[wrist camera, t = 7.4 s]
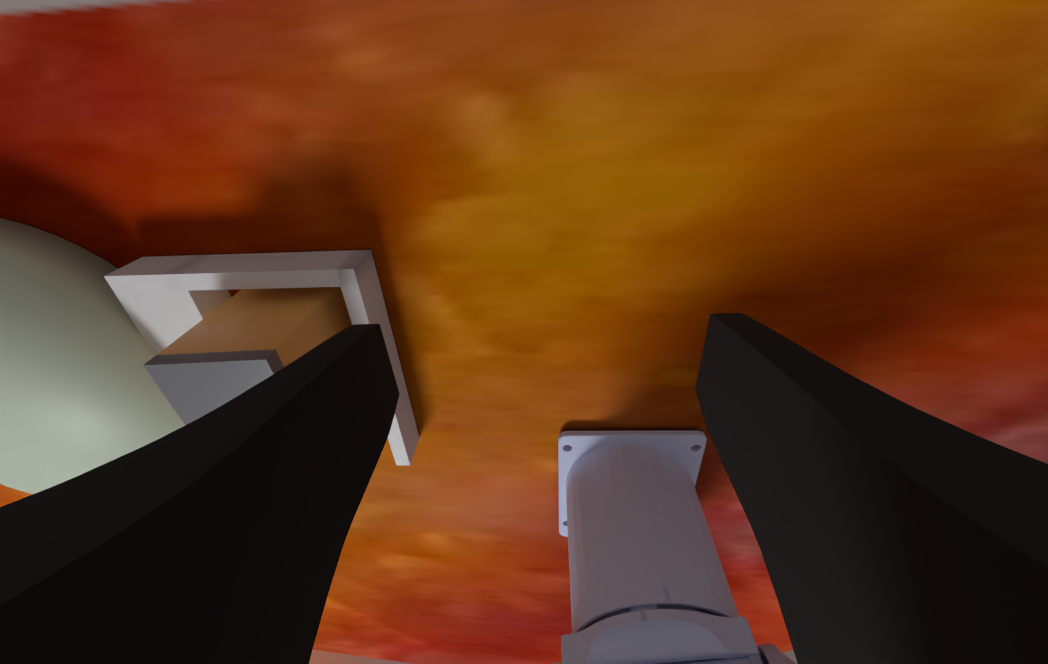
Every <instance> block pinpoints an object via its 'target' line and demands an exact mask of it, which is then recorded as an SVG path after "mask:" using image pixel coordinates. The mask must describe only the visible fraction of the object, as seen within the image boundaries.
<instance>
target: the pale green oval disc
mask: <svg viewBox="0 0 1048 664" xmlns="http://www.w3.org/2000/svg"><path fill="white" fill-rule="evenodd" d="M309 287H341V290H342V293H343V296H344V300H345V303H346V306H347V309H348V312H349V316H350V319H351V322H352V325H354V324H380V327H381V330H382V334H383V337H384V341H385V344H386V348H387V351H388V355H389V358H390V362H391V365H392V369H393V372H394V376H395V379H396V383H397V386H398V390H399V393H400V394H399V399H398V403H397V407H396V411H395V415H394V418H393V422H392V426H391V429H390V433H389V435H388V440H389V443H390V446H391V450H392V453H393V456H394V459H395V462H396V465H410V464H411V461H412V458H413V455H414V452H415V449H416V446H417V443H418V440H419V434H418V431H417V427H416V423H415V419H414V415H413V411H412V407H411V403H410V399H409V396H408V392H407V388H406V384H405V380H404V376H403V372H402V368H401V364H400V361H399V357H398V353H397V349H396V345H395V341H394V337H393V333H392V329H391V326H390V322H389V318H388V314H387V310H386V306H385V302H384V298H383V294H382V291H381V287H380V283H379V279H378V275H377V271H376V267H375V263H374V259H373V256H372V252H371V250H347V251H315V252H283V253H251V254H218V255H186V256H154V257H141V258H139V259H137V260H135V261H133V262H131V263H129V264H127V265H125V266H123V267H121V268H119V269H118V268H117V267H115V266H114V265H112V264H111V263H109V262H108V261H106V260H104V259H102V258H101V257H99V256H97V255H95V254H93V253H91V252H90V251H88V250H86V249H84V248H82V247H80V246H78V245H76V244H74V243H72V242H70V241H67V240H65V239H63V238H61V237H58V236H56V235H54V234H51V233H49V232H46V231H43V230H40V229H37V228H34V227H32V226H29V225H26V224H22V223H18V222H14V221H11V220H7V219H3V218H0V484H2V485H5V486H8V487H11V488H14V489H17V490H20V491H24V492H27V493H30V494H35V493H38V492H40V491H43V490H45V489H48V488H50V487H53V486H55V485H58V484H60V483H63V482H65V481H67V480H70V479H72V478H74V477H77V476H79V475H81V474H83V473H85V472H88V471H90V470H92V469H94V468H97V467H99V466H101V465H103V464H105V463H108V462H110V461H112V460H114V459H117V458H119V457H121V456H123V455H125V454H128V453H130V452H132V451H134V450H136V449H139V448H141V447H143V446H145V445H147V444H149V443H151V442H153V441H156V440H158V439H160V438H162V437H164V436H165V435H167V434H169V433H171V432H173V431H175V430H177V429H179V428H181V427H183V426H185V424H184V423H183V421H182V420H181V418H180V417H179V416H178V414H177V413H176V411H175V410H174V408H173V407H172V406H171V404H170V403H169V401H168V400H167V399H166V397H165V396H164V394H163V393H162V392H161V390H160V389H159V387H158V386H157V384H156V383H155V382H154V380H153V379H152V377H151V376H150V375H149V373H148V372H147V370H146V369H145V368H144V366H143V365H144V364H145V363H147V362H148V361H149V360H151V359H152V358H153V357H154V356H156V355H157V354H158V353H160V352H161V351H162V350H164V349H165V348H166V347H167V346H169V345H170V344H171V343H173V342H174V341H175V340H177V339H178V338H179V337H181V336H182V335H183V334H184V333H186V332H187V331H188V330H190V329H191V328H192V327H194V326H195V325H196V324H197V323H199V322H200V321H201V320H203V319H204V318H205V317H207V316H208V315H209V314H210V313H212V312H213V311H214V310H216V309H217V308H218V307H220V306H221V305H222V304H223V303H225V302H226V301H227V300H229V299H230V298H231V295H230V293H229V291H228V290H231V289H270V288H309Z"/></svg>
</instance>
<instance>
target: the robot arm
mask: <svg viewBox="0 0 1048 664" xmlns="http://www.w3.org/2000/svg"><path fill="white" fill-rule="evenodd" d="M695 389H696V393H697V396H698V400H699V403H700V407H701V411H702V414H703V417H704V420H705V424H706V427H707V430H708V432H709V434H710V437H711V439H712V441H713V443H714V446H715V448H716V450H717V452H718V454H719V457H720V459H721V461H722V463H723V466H724V468H725V470H726V472H727V474H728V476H729V479H730V481H731V483H732V485H733V487H734V489H735V492H736V494H737V496H738V498H739V500H740V503H741V505H742V507H743V509H744V511H745V513H746V516H747V518H748V520H749V522H750V524H751V527H752V529H753V532H754V534H755V537H756V539H757V542H758V544H759V546H760V549H761V552H762V555H763V558H764V561H765V564H766V567H767V570H768V573H769V576H770V578H771V581H772V584H773V587H774V590H775V593H776V596H777V599H778V602H779V605H780V608H781V612H782V615H783V618H784V621H785V624H786V628H787V631H788V634H789V637H790V640H791V643H792V647H793V650H794V653H795V656H796V659H797V663H798V664H1048V464H1046V463H1044V462H1041V461H1039V460H1036V459H1033V458H1031V457H1028V456H1026V455H1023V454H1020V453H1018V452H1015V451H1013V450H1010V449H1008V448H1005V447H1003V446H1000V445H998V444H996V443H993V442H991V441H988V440H986V439H983V438H981V437H979V436H976V435H974V434H972V433H969V432H967V431H965V430H963V429H961V428H958V427H956V426H954V425H952V424H949V423H947V422H945V421H943V420H940V419H938V418H936V417H934V416H932V415H929V414H927V413H925V412H923V411H920V410H918V409H916V408H914V407H912V406H910V405H908V404H906V403H904V402H902V401H900V400H898V399H896V398H894V397H892V396H890V395H888V394H886V393H884V392H882V391H880V390H878V389H876V388H874V387H873V386H871V385H869V384H867V383H865V382H863V381H861V380H859V379H857V378H855V377H853V376H852V375H850V374H848V373H846V372H844V371H843V370H841V369H839V368H837V367H835V366H834V365H832V364H830V363H828V362H826V361H825V360H823V359H821V358H819V357H818V356H816V355H814V354H813V353H811V352H809V351H807V350H806V349H804V348H802V347H801V346H799V345H797V344H795V343H794V342H792V341H790V340H789V339H787V338H785V337H784V336H782V335H780V334H778V333H777V332H775V331H773V330H772V329H770V328H768V327H766V326H765V325H763V324H761V323H759V322H757V321H756V320H754V319H752V318H750V317H748V316H746V315H744V314H741V313H725V314H710V319H709V324H708V329H707V334H706V339H705V344H704V349H703V354H702V358H701V363H700V368H699V373H698V378H697V383H696V388H695ZM399 394H400V393H399V390H398V386H397V383H396V379H395V376H394V372H393V369H392V365H391V362H390V358H389V355H388V351H387V348H386V344H385V341H384V337H383V334H382V330H381V327H380V324H354V325H351V326H349V327H347V328H345V329H344V330H342V331H340V332H338V333H337V334H335V335H334V336H332V337H330V338H329V339H327V340H326V341H324V342H322V343H321V344H319V345H318V346H316V347H315V348H313V349H312V350H310V351H309V352H307V353H305V354H304V355H302V356H301V357H299V358H298V359H296V360H295V361H293V362H292V363H290V364H289V365H287V366H285V367H284V368H282V369H281V370H279V371H278V372H276V373H275V374H273V375H271V376H270V377H268V378H267V379H265V380H263V381H262V382H260V383H258V384H257V385H255V386H253V387H252V388H250V389H248V390H247V391H245V392H243V393H242V394H240V395H238V396H237V397H235V398H233V399H232V400H230V401H228V402H227V403H225V404H223V405H222V406H220V407H218V408H216V409H215V410H213V411H211V412H209V413H207V414H206V415H204V416H202V417H200V418H198V419H196V420H195V421H193V422H191V423H189V424H187V425H185V426H183V427H181V428H179V429H177V430H175V431H173V432H171V433H169V434H167V435H165V436H164V437H162V438H160V439H158V440H156V441H153V442H151V443H149V444H147V445H145V446H143V447H141V448H139V449H136V450H134V451H132V452H130V453H128V454H125V455H123V456H121V457H119V458H117V459H114V460H112V461H110V462H108V463H105V464H103V465H101V466H99V467H97V468H94V469H92V470H90V471H88V472H85V473H83V474H81V475H79V476H77V477H74V478H72V479H70V480H67V481H65V482H63V483H60V484H58V485H55V486H53V487H50V488H48V489H45V490H43V491H40V492H38V493H35V494H33V495H31V496H28V497H26V498H23V499H21V500H18V501H15V502H13V503H10V504H8V505H5V506H2V507H0V664H309V660H310V656H311V652H312V649H313V645H314V641H315V638H316V634H317V631H318V627H319V624H320V620H321V617H322V613H323V610H324V606H325V603H326V599H327V595H328V592H329V589H330V586H331V582H332V579H333V576H334V573H335V570H336V566H337V563H338V560H339V557H340V553H341V550H342V547H343V544H344V541H345V539H346V536H347V533H348V531H349V528H350V525H351V523H352V520H353V518H354V516H355V513H356V511H357V509H358V506H359V504H360V502H361V499H362V497H363V495H364V492H365V490H366V488H367V485H368V483H369V481H370V478H371V476H372V474H373V471H374V469H375V467H376V464H377V462H378V459H379V457H380V455H381V452H382V450H383V447H384V445H385V443H386V440H387V438H388V435H389V433H390V429H391V426H392V422H393V418H394V415H395V411H396V407H397V403H398V399H399ZM706 442H707V438H706V436H705V434H704V432H702V431H698V430H674V431H564V432H561V433H560V434H559V436H558V474H559V533H560V534H561V535H562V536H566V537H568V549H569V571H570V592H571V614H572V634H568V635H563V636H562V637H561V653H562V663H554V664H796V663H794V662H793V661H792V660H791V659H790V658H788V657H787V656H786V655H784V654H783V653H781V651H780V650H779V649H778V648H777V647H776V646H775V645H773V644H762V645H758V649H757V646H756V643H755V640H754V637H753V635H752V632H751V629H750V626H749V623H748V621H747V618H746V617H739V615H738V612H737V609H736V606H735V603H734V600H733V597H732V594H731V591H730V588H729V586H728V583H727V580H726V577H725V574H724V571H723V568H722V565H721V562H720V559H719V557H718V554H717V551H716V548H715V545H714V542H713V539H712V536H711V533H710V530H709V528H708V525H707V522H706V519H705V516H704V513H703V510H702V507H701V504H700V501H699V499H698V496H697V493H696V490H695V484H696V481H697V477H698V473H699V469H700V465H701V461H702V457H703V454H704V450H705V446H706ZM565 445H570V446H565ZM694 445H696V446H694Z"/></svg>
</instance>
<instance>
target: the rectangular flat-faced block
mask: <svg viewBox="0 0 1048 664" xmlns="http://www.w3.org/2000/svg"><path fill="white" fill-rule="evenodd" d="M351 325H352V322H351V319H350V316H349V312H348V309H347V306H346V303H345V300H344V296H343V293H342V290H341V287H309V288H270V289H242V290H240V291H239V292H238V293H236V294H235V295H234V296H233V297H231V298H230V299H229V300H227V301H226V302H225V303H223V304H222V305H221V306H220V307H218V308H217V309H216V310H214V311H213V312H212V313H210V314H209V315H208V316H207V317H205V318H204V319H203V320H201V321H200V322H199V323H197V324H196V325H195V326H194V327H192V328H191V329H190V330H188V331H187V332H186V333H184V334H183V335H182V336H181V337H179V338H178V339H177V340H175V341H174V342H173V343H171V344H170V345H169V346H167V347H166V348H165V349H164V350H162V351H161V352H160V353H158V354H157V355H156V356H154V357H153V358H152V359H151V360H149V361H148V362H147V363H145V364H144V365H143V366H144V368H145V369H146V370H147V372H148V373H149V375H150V376H151V377H152V379H153V380H154V382H155V383H156V384H157V386H158V387H159V389H160V390H161V392H162V393H163V394H164V396H165V397H166V399H167V400H168V401H169V403H170V404H171V406H172V407H173V408H174V410H175V411H176V413H177V414H178V416H179V417H180V418H181V420H182V421H183V423H184V424H185V425H187V424H189V423H191V422H193V421H195V420H196V419H198V418H200V417H202V416H204V415H206V414H207V413H209V412H211V411H213V410H215V409H216V408H218V407H220V406H222V405H223V404H225V403H227V402H228V401H230V400H232V399H233V398H235V397H237V396H238V395H240V394H242V393H243V392H245V391H247V390H248V389H250V388H252V387H253V386H255V385H257V384H258V383H260V382H262V381H263V380H265V379H267V378H268V377H270V376H271V375H273V374H275V373H276V372H278V371H279V370H281V369H282V368H284V367H285V366H287V365H289V364H290V363H292V362H293V361H295V360H296V359H298V358H299V357H301V356H302V355H304V354H305V353H307V352H309V351H310V350H312V349H313V348H315V347H316V346H318V345H319V344H321V343H322V342H324V341H326V340H327V339H329V338H330V337H332V336H334V335H335V334H337V333H338V332H340V331H342V330H344V329H345V328H347V327H349V326H351Z"/></svg>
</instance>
